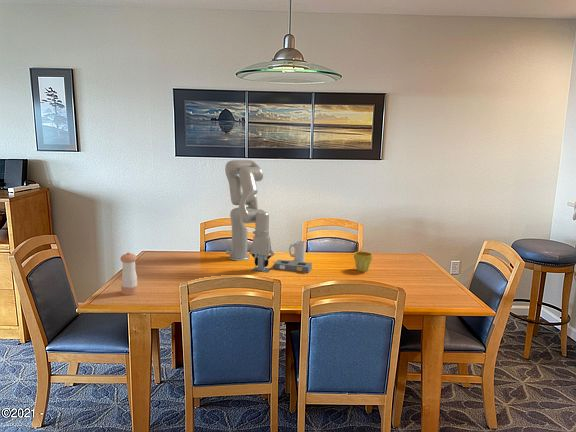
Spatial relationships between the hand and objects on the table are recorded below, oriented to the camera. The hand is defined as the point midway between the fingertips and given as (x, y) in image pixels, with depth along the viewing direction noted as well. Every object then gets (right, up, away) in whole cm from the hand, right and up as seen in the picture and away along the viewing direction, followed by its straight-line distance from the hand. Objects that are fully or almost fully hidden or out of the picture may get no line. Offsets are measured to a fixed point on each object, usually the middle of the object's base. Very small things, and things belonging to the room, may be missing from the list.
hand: (261, 265), depth 234 cm
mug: (+20, 0, +21) cm, 29 cm away
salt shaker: (-59, -8, -39) cm, 71 cm away
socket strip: (+18, -3, +4) cm, 18 cm away
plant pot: (+58, -4, +6) cm, 58 cm away
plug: (0, -2, 0) cm, 2 cm away
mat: (0, -3, 0) cm, 3 cm away
